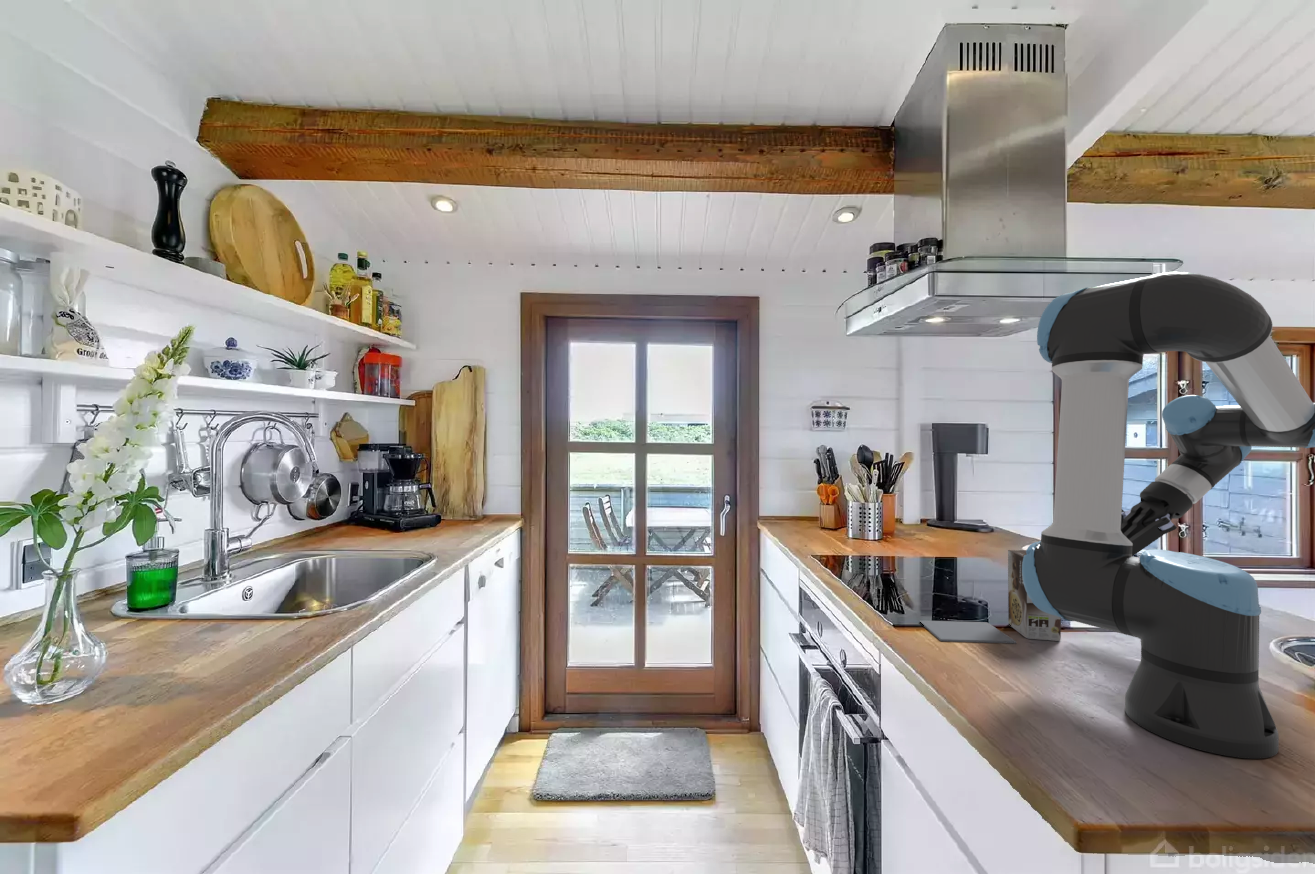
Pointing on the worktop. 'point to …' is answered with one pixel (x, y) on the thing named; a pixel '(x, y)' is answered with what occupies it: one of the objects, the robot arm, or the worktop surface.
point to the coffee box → (1027, 606)
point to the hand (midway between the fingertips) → (1085, 574)
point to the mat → (966, 632)
